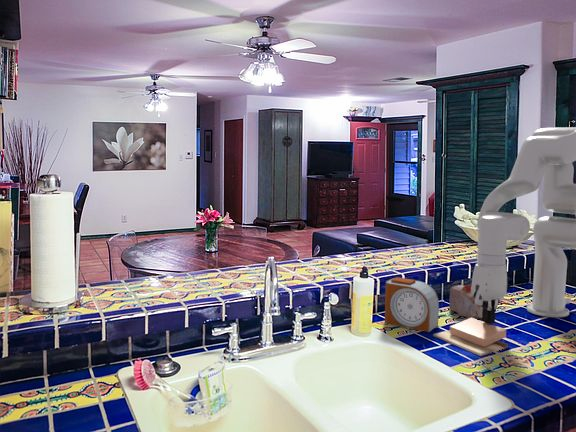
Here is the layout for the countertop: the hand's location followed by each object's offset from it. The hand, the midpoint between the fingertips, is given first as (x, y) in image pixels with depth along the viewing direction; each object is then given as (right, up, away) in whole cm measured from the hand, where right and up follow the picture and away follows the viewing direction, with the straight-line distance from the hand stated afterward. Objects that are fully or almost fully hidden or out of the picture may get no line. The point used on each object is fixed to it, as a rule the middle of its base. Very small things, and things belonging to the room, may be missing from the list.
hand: (488, 322), depth 155 cm
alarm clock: (-20, -3, +12) cm, 23 cm away
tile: (0, -1, 0) cm, 1 cm away
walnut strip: (-3, -5, -1) cm, 5 cm away
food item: (+1, -2, +21) cm, 21 cm away
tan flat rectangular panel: (-7, -5, -3) cm, 9 cm away
